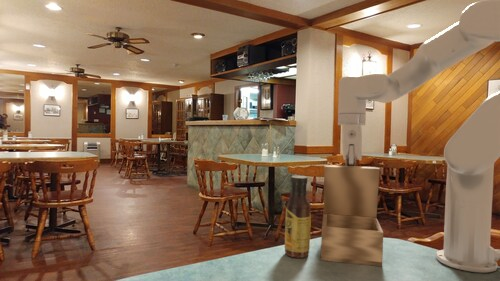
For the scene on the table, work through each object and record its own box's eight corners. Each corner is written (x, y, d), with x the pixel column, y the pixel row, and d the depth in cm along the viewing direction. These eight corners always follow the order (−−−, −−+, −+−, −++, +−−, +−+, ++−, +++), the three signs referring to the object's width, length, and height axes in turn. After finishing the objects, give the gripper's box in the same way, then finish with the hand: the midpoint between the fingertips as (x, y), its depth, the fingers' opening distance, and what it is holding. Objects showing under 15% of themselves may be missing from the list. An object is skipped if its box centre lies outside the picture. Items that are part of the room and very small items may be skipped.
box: (375, 246, 96) (376, 217, 96) (382, 266, 82) (383, 232, 82) (322, 242, 99) (323, 213, 99) (320, 260, 86) (321, 227, 85)
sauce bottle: (283, 249, 92) (285, 174, 92) (307, 250, 92) (309, 174, 91) (285, 259, 86) (287, 177, 85) (311, 260, 86) (313, 178, 85)
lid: (376, 217, 96) (375, 215, 97) (379, 168, 92) (379, 167, 93) (323, 213, 99) (323, 211, 100) (324, 166, 95) (324, 165, 96)
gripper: (367, 119, 92) (365, 189, 93) (363, 120, 107) (362, 181, 107) (337, 119, 94) (336, 188, 95) (338, 120, 109) (336, 180, 109)
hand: (350, 184), depth 101 cm, fingers closed
